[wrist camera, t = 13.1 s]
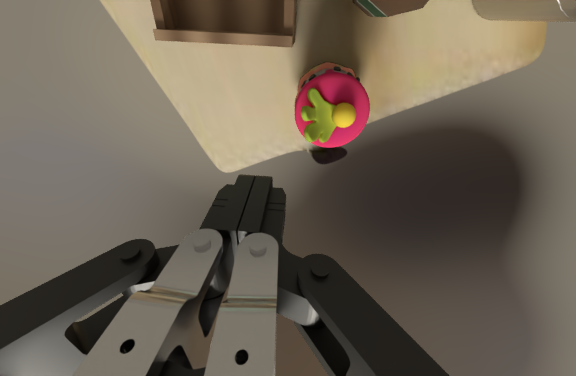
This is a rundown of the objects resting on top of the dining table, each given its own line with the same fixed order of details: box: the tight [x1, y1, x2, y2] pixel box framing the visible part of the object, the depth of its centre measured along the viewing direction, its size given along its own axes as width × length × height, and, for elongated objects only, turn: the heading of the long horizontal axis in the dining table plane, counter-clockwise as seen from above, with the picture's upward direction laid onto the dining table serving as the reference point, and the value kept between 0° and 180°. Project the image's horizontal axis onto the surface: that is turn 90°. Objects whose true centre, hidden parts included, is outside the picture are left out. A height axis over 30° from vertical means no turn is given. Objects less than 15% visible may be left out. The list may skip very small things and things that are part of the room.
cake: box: [295, 62, 370, 147], centre depth 36 cm, size 10×11×15 cm
